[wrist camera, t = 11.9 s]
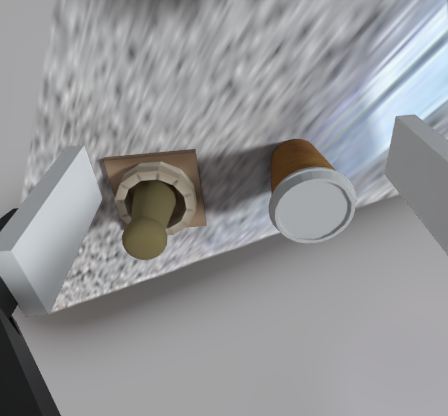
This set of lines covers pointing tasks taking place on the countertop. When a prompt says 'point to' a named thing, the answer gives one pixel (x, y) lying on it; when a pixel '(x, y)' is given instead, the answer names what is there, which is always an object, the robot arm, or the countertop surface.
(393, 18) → the countertop surface
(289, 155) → the disposable coffee cup
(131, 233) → the olive knobbed peg
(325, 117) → the countertop surface
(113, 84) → the countertop surface
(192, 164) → the collar base
